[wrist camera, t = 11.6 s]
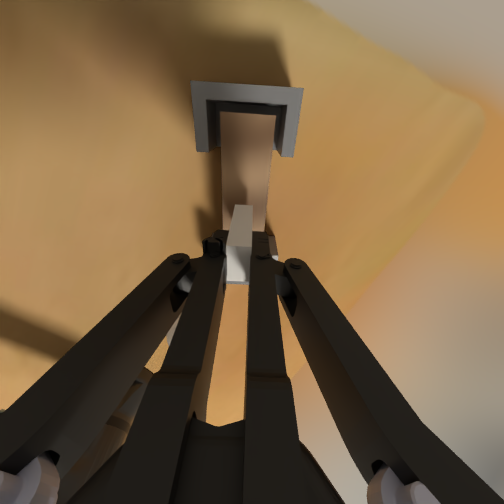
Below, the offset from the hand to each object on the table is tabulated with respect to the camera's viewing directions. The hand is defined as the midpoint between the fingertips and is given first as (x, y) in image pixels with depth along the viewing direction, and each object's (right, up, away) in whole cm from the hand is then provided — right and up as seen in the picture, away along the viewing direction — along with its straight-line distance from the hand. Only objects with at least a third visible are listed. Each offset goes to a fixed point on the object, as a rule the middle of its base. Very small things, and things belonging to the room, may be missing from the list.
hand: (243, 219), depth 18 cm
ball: (-9, -12, +16) cm, 22 cm away
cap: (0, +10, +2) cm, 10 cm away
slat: (0, +4, +5) cm, 6 cm away
